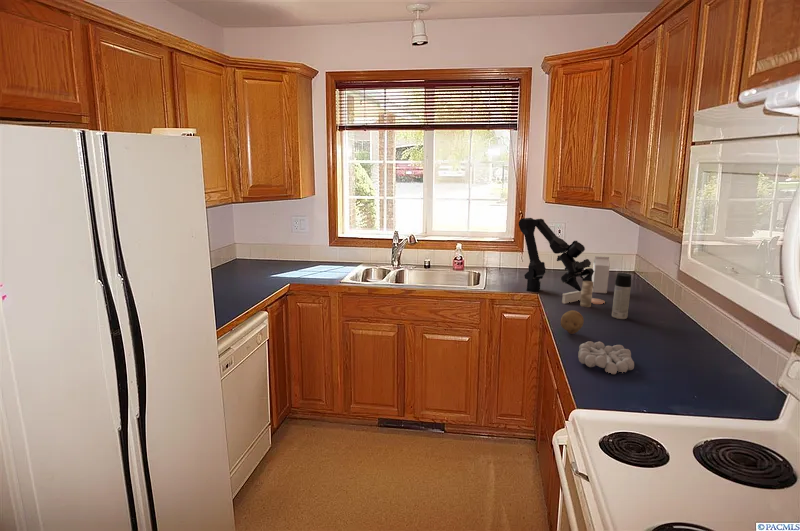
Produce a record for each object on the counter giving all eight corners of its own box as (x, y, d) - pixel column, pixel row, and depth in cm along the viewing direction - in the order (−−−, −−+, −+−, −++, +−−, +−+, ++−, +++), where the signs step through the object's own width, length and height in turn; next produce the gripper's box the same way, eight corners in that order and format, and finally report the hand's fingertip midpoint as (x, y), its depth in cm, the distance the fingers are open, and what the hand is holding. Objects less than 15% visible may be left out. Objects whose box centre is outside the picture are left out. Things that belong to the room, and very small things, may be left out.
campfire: (561, 353, 199) (563, 338, 197) (611, 350, 203) (613, 335, 202) (595, 379, 178) (597, 363, 176) (650, 374, 182) (652, 358, 181)
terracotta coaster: (586, 303, 264) (586, 302, 264) (585, 298, 272) (585, 297, 272) (605, 305, 261) (605, 303, 261) (604, 300, 270) (604, 299, 270)
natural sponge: (576, 339, 213) (578, 315, 211) (555, 334, 219) (557, 310, 217) (585, 334, 220) (588, 310, 218) (565, 328, 226) (567, 306, 224)
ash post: (580, 306, 258) (582, 282, 255) (579, 303, 263) (582, 280, 260) (591, 307, 257) (593, 283, 254) (590, 304, 261) (593, 281, 259)
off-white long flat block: (564, 303, 263) (565, 294, 262) (561, 302, 264) (562, 293, 263) (580, 300, 269) (581, 291, 268) (577, 299, 271) (578, 290, 270)
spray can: (627, 316, 244) (632, 273, 240) (626, 320, 238) (631, 276, 234) (612, 314, 247) (616, 272, 243) (611, 318, 241) (615, 275, 237)
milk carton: (606, 293, 283) (610, 258, 278) (592, 292, 284) (596, 257, 280) (604, 290, 289) (608, 255, 285) (590, 289, 291) (594, 255, 287)
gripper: (567, 255, 254) (585, 283, 247) (592, 252, 264) (610, 278, 257) (553, 268, 262) (569, 295, 255) (578, 264, 272) (594, 290, 265)
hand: (586, 289), depth 258 cm, fingers open, 9 cm apart
